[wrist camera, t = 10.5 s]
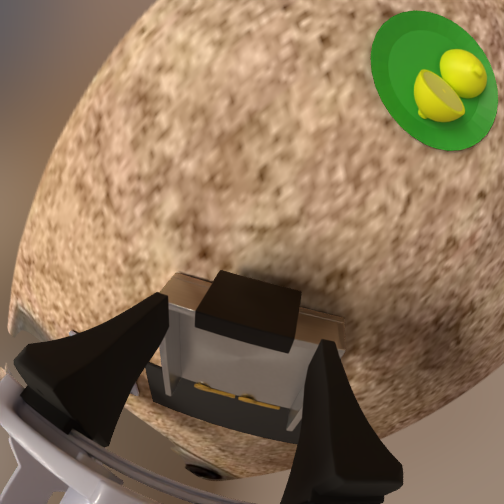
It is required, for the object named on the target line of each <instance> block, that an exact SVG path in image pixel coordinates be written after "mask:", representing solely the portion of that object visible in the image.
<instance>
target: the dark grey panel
mask: <svg viewBox="0 0 504 504" xmlns="http://www.w3.org/2000/svg"><path fill="white" fill-rule="evenodd" d="M145 369H146V373H147V378H148V382H149V386H150V391H151V395H152V399H153V402H156V403H158V404H160V405H163V406H165V407H168V408H170V409H173V410H175V411H178V412H181V413H183V414H186V415H189V416H191V417H194V418H197V419H200V420H203V421H206V422H209V423H212V424H215V425H219V426H222V427H225V428H229V429H232V430H236V431H239V432H243V433H247V434H251V435H255V436H259V437H263V438H268V439H272V440H277V441H282V442H287V443H293V444H298V440H299V436H300V430H301V421H302V419H301V420H300V421H299V423H298V424H297V425H296V427H295V428H294V430H293V431H288V430H286V428H287V423H288V417H289V412H290V408H285V407H281V406H279V407H280V409H279V410H277V409H272V408H268V407H264V406H260V405H256V404H251V403H247V402H244V401H240V400H238V397H241V396H237V395H235V398H231V397H227V396H223V395H220V394H216V393H212V392H207V391H203V390H200V389H198V388H195V387H194V385H195V384H199V383H196V382H193V381H191V380H188V379H185V378H182V377H181V379H180V381H179V383H178V384H177V386H176V388H175V390H174V392H173V394H172V396H169V395H166V392H165V386H164V379H163V376H162V375H161V367H159V366H157V365H154V364H152V363H150V362H148V364H147V365H146V367H145ZM201 385H202V384H201ZM204 386H205V385H204ZM207 387H208V386H207ZM210 388H211V387H210ZM212 389H214V388H212ZM216 390H217V389H216ZM219 391H221V390H219ZM223 392H224V391H223ZM244 398H245V397H244ZM255 401H256V400H255ZM258 402H260V401H258ZM262 403H264V402H262ZM266 404H268V403H266ZM270 405H272V404H270ZM274 406H276V405H274Z"/></svg>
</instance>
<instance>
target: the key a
mask: <svg viewBox="0 0 504 504" xmlns="http://www.w3.org/2000/svg"><path fill="white" fill-rule="evenodd" d="M194 387H195V388H198V389H200V390H203V391H207V392H212V393H216V394H220V395H223V396H227V397H231V398H235V395H234V394H231V393H227V392H223V391H219V390H216V389H212V388H210V387H207V386H204V385H201V384H195V385H194Z"/></svg>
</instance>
